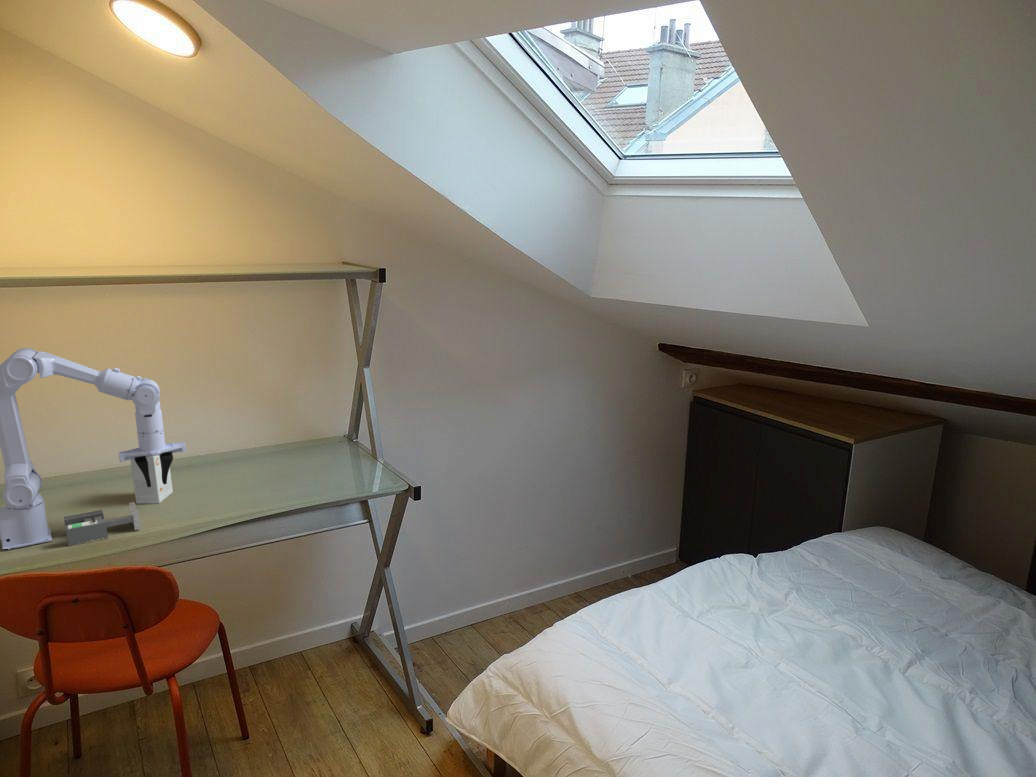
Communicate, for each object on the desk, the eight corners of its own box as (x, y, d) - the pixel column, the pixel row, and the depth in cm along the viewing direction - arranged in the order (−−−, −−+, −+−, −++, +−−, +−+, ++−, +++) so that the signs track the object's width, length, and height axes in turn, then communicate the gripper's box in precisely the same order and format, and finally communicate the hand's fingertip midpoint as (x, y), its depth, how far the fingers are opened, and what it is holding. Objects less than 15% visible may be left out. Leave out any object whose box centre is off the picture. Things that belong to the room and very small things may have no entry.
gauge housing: (68, 546, 175) (65, 529, 174) (66, 532, 182) (63, 515, 181) (108, 538, 179) (105, 521, 178) (104, 525, 187) (101, 508, 186)
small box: (150, 492, 208) (144, 446, 205) (173, 492, 208) (168, 446, 205) (135, 503, 200) (129, 455, 197) (159, 503, 200) (153, 455, 197)
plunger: (88, 540, 177) (85, 522, 176) (85, 529, 184) (82, 511, 183) (140, 530, 183) (138, 512, 182) (136, 519, 189) (134, 501, 188)
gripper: (118, 439, 177) (125, 495, 180) (186, 429, 184) (191, 483, 187) (115, 432, 183) (122, 486, 186) (180, 422, 190) (186, 475, 193)
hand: (156, 484), depth 187 cm, fingers open, 3 cm apart
